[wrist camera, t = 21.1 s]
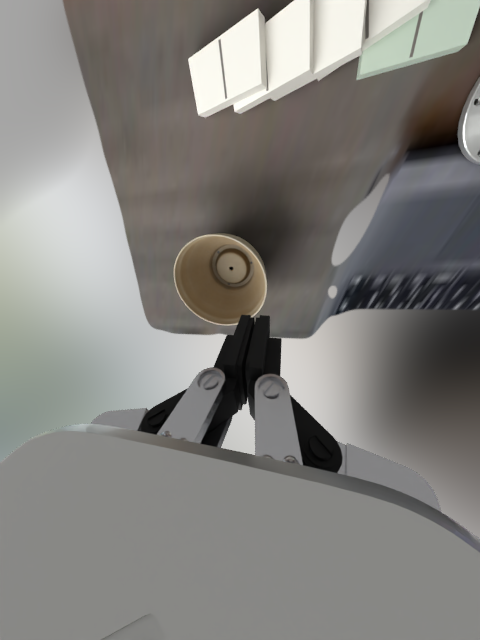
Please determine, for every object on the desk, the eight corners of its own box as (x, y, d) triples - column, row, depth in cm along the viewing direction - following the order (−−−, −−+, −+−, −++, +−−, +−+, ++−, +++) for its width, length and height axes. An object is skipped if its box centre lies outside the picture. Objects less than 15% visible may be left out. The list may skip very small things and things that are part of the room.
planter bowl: (279, 290, 40) (277, 317, 32) (216, 305, 46) (199, 331, 37) (258, 210, 33) (248, 216, 24) (185, 240, 38) (155, 254, 30)
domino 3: (270, 41, 22) (369, -31, 17) (274, 101, 25) (361, 54, 20) (265, 35, 21) (369, -45, 16) (270, 97, 24) (360, 47, 19)
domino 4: (312, 19, 21) (435, -86, 16) (317, 81, 23) (427, 8, 18) (310, 9, 20) (443, -107, 15) (316, 76, 22) (433, -5, 17)
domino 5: (359, 75, 22) (467, 43, 19) (370, -1, 19) (497, -49, 16) (355, 81, 23) (456, 52, 20) (365, 12, 20) (482, -32, 18)
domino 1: (196, 64, 25) (264, 17, 20) (205, 117, 27) (267, 88, 22) (188, 59, 23) (257, 8, 19) (198, 115, 26) (261, 83, 21)
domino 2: (233, 59, 24) (313, -2, 18) (240, 114, 26) (313, 74, 21) (226, 54, 23) (309, -13, 17) (234, 111, 25) (309, 69, 20)
